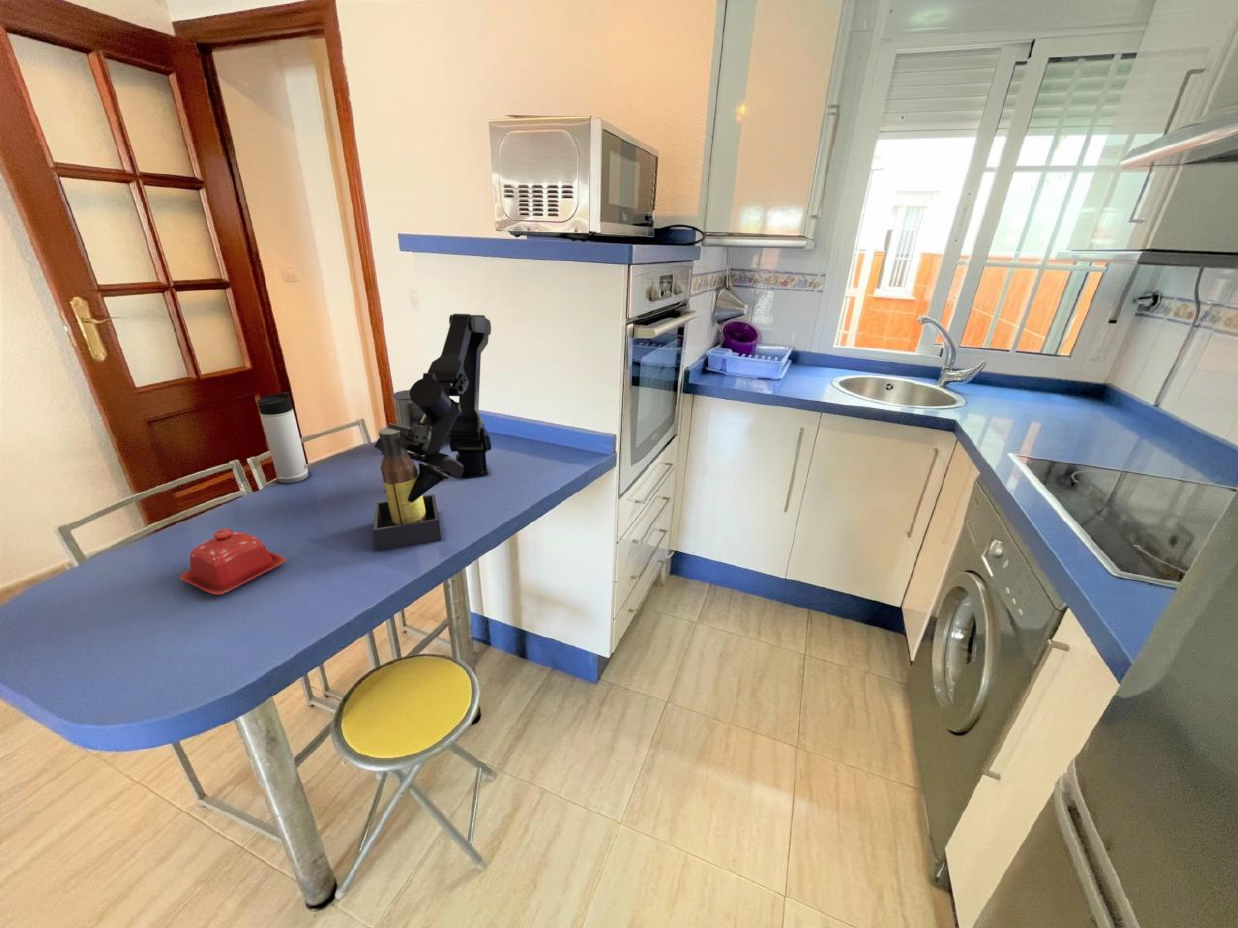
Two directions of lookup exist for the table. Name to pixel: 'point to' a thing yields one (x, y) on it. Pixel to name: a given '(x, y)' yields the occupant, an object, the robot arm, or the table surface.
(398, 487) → the sauce bottle
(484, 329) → the robot arm
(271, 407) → the travel mug
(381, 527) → the bin
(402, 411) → the milk frother
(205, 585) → the butter dish
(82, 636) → the table surface
